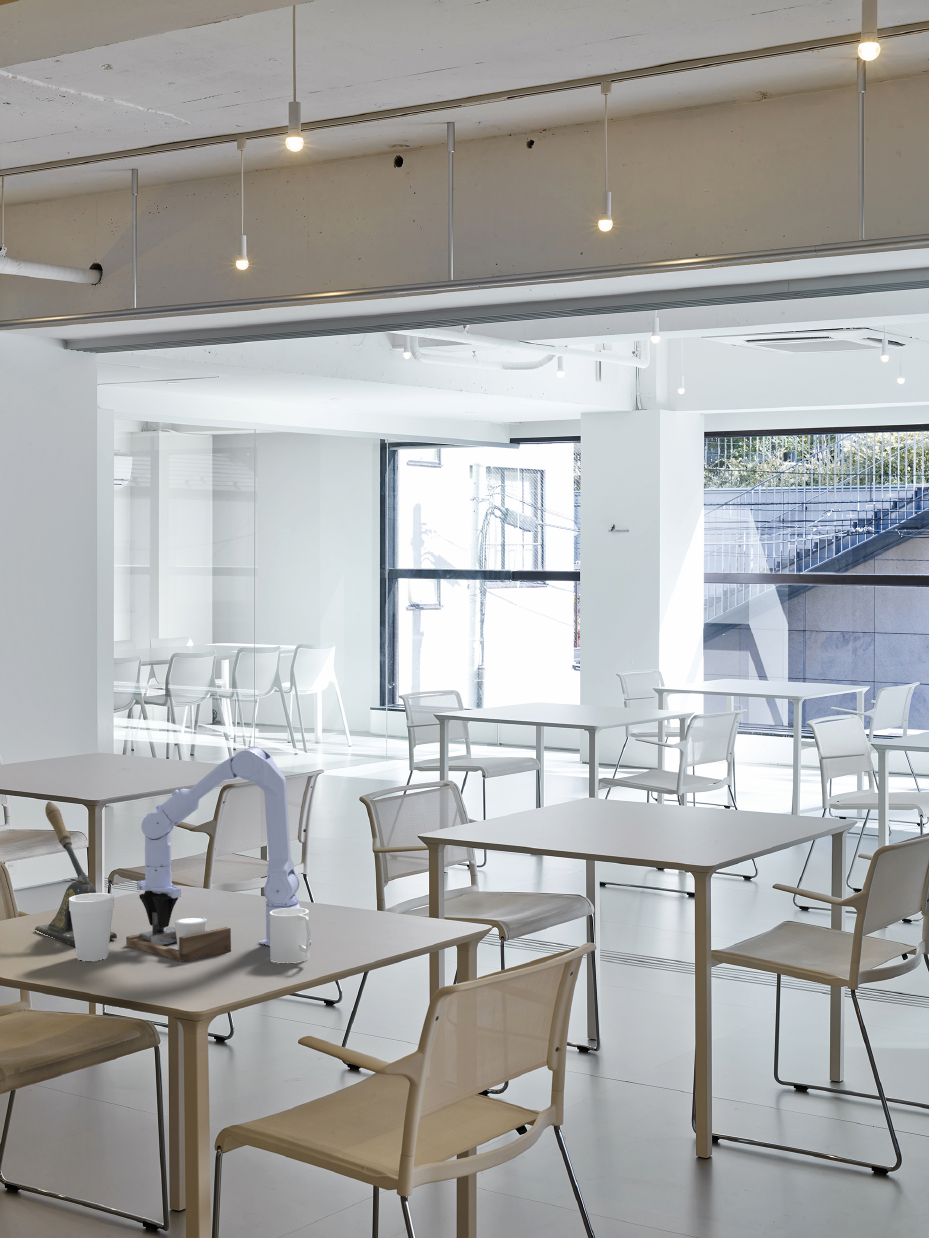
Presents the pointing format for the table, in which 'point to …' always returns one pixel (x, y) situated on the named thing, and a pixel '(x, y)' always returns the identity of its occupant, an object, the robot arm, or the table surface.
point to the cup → (289, 935)
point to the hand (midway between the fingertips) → (159, 925)
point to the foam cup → (91, 924)
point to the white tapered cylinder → (189, 926)
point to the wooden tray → (188, 945)
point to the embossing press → (62, 921)
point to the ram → (159, 933)
